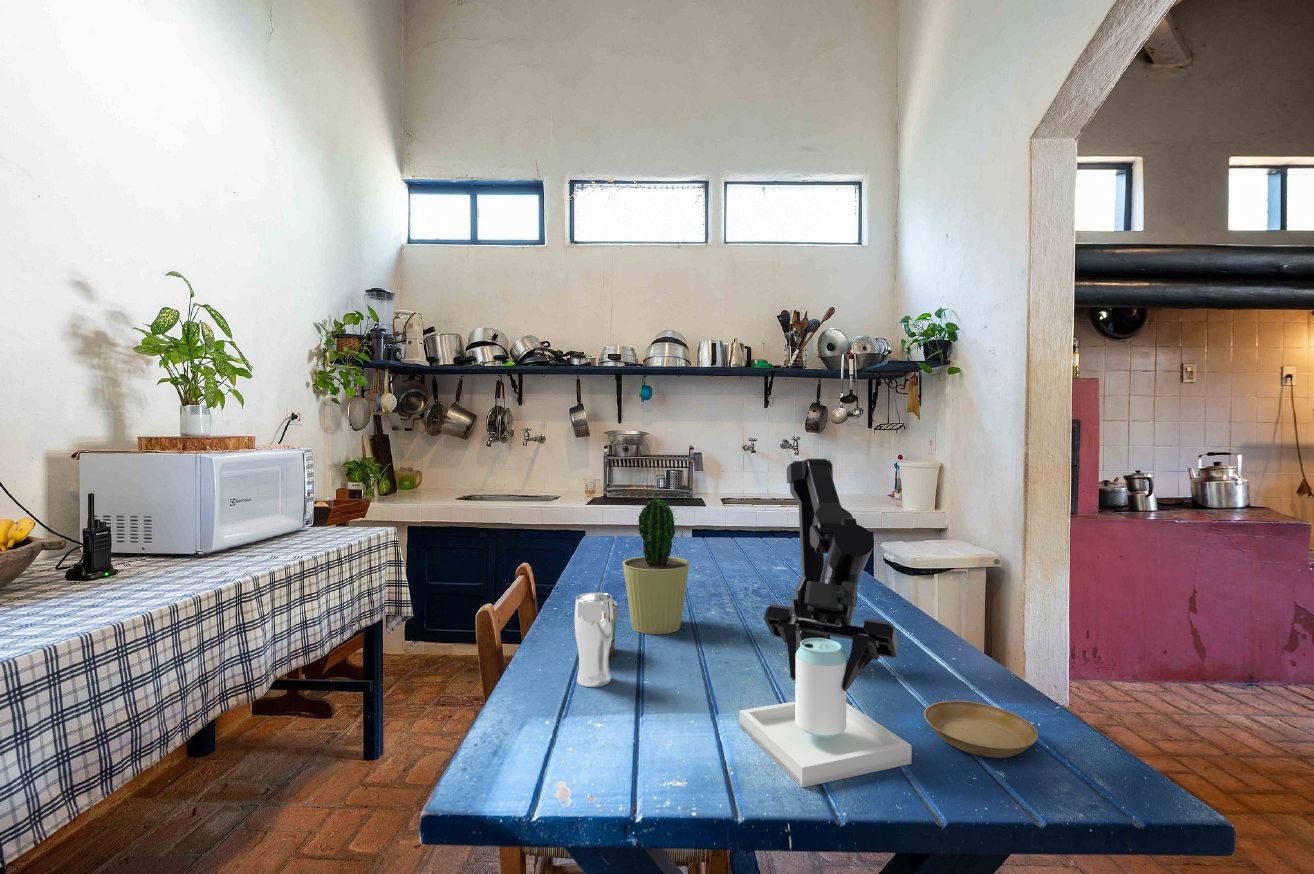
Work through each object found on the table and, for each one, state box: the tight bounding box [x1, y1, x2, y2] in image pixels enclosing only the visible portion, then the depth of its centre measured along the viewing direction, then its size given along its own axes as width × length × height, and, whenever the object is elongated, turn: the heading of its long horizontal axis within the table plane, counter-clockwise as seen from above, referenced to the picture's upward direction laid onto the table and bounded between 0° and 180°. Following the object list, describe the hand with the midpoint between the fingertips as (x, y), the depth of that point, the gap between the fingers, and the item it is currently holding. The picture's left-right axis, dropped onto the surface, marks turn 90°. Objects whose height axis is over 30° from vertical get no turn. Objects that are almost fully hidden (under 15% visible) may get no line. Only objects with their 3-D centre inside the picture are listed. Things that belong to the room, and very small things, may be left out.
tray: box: [738, 701, 912, 788], centre depth 88 cm, size 17×17×2 cm
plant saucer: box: [923, 700, 1039, 759], centre depth 90 cm, size 15×15×3 cm
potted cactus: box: [622, 497, 690, 635], centre depth 142 cm, size 15×15×30 cm
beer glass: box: [574, 592, 614, 688], centre depth 111 cm, size 7×7×15 cm
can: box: [794, 638, 848, 737], centre depth 88 cm, size 7×7×12 cm
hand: (817, 684), depth 87 cm, fingers closed on can, 7 cm apart
